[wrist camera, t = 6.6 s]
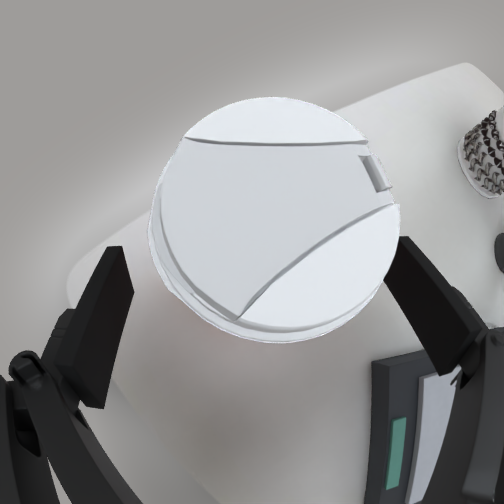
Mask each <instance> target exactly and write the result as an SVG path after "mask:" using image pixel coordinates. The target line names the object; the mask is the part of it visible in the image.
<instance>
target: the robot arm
mask: <svg viewBox="0 0 504 504" xmlns="http://www.w3.org/2000/svg"><path fill="white" fill-rule="evenodd" d="M383 281H384V282H385V284H386V285H387V287H388V288H389V290H390V292H391V293H392V295H393V296H394V298H395V300H396V301H397V303H398V304H399V306H400V308H401V309H402V311H403V313H404V314H405V316H406V318H407V319H408V321H409V323H410V324H411V326H412V328H413V330H414V331H415V333H416V335H417V337H418V338H419V340H420V342H421V344H422V345H423V347H424V349H425V351H426V353H427V354H428V356H429V358H430V360H431V362H432V364H433V366H434V367H435V369H436V371H437V373H438V375H439V377H440V376H443V375H446V374H449V373H452V372H453V370H454V369H455V368H456V366H457V365H458V364H459V365H460V367H461V370H460V371H459V372H458V374H457V375H456V376H455V377H454V379H453V380H452V381H451V383H450V385H453V383H454V382H455V381H456V380H457V383H456V385H455V387H456V388H455V394H454V399H453V403H452V408H451V412H450V417H449V421H448V425H447V428H446V432H445V436H444V439H443V443H442V446H441V449H440V453H439V456H438V459H437V462H436V465H435V468H434V471H433V473H432V476H431V479H430V481H429V484H428V487H427V489H426V492H425V494H424V497H423V499H422V501H421V504H504V334H503V333H501V332H500V331H498V330H495V329H491V330H489V329H488V327H487V326H486V325H485V323H484V322H483V321H482V319H481V318H480V316H479V315H478V314H477V312H476V311H475V310H474V308H472V306H471V304H470V303H469V302H467V299H466V298H465V297H464V295H463V294H462V293H461V292H460V291H458V290H457V289H456V288H455V287H451V285H450V284H449V283H448V282H447V280H446V279H445V278H444V277H443V276H442V274H441V273H440V272H439V271H438V270H437V268H436V267H435V266H434V265H433V264H432V263H431V261H430V260H429V259H428V258H427V257H426V256H425V254H424V253H423V252H422V251H421V250H420V249H419V248H418V247H417V245H416V244H415V243H414V242H413V241H412V240H411V239H410V238H409V237H408V236H399V240H398V244H397V248H396V253H395V256H394V258H393V260H392V263H391V265H390V268H389V270H388V272H387V274H386V275H385V277H384V279H383ZM133 295H134V289H133V286H132V282H131V279H130V275H129V271H128V268H127V264H126V260H125V256H124V252H123V248H122V246H109V247H107V248H106V250H105V251H104V253H103V255H102V257H101V259H100V261H99V263H98V264H97V266H96V268H95V270H94V272H93V274H92V276H91V278H90V280H89V282H88V284H87V286H86V288H85V290H84V292H83V294H82V296H81V298H80V300H79V303H78V305H77V307H76V309H66V311H65V312H64V313H63V314H62V315H61V316H60V317H59V318H58V321H57V323H56V325H55V329H53V331H52V334H51V337H50V338H49V340H48V343H47V345H46V348H45V350H44V352H43V354H42V357H41V359H40V358H39V357H38V356H37V354H36V353H35V352H33V351H23V352H20V353H18V354H17V355H16V356H15V357H14V358H13V359H12V361H11V362H10V365H9V375H10V376H11V377H12V378H13V380H14V381H6V380H5V379H4V378H3V377H2V375H0V504H60V502H59V499H58V496H57V493H56V489H55V486H54V482H53V479H52V475H51V471H50V467H49V463H48V460H49V462H50V463H51V466H52V468H53V470H54V472H55V473H56V476H57V478H58V479H59V481H60V483H61V485H62V487H63V489H64V491H65V492H66V494H67V496H68V497H69V499H70V501H71V503H72V504H143V503H142V502H141V501H140V500H139V498H138V497H137V496H136V495H135V493H134V492H133V491H132V489H131V488H130V487H129V486H128V484H127V483H126V482H125V480H124V479H123V477H122V476H121V475H120V473H119V472H118V470H117V469H116V468H115V466H114V465H113V463H112V462H111V460H110V459H109V457H108V456H107V454H106V453H105V451H104V450H103V448H102V446H101V445H100V443H99V442H98V440H97V439H96V437H95V435H94V433H93V432H92V430H91V428H90V427H89V425H88V423H87V421H86V419H85V418H84V416H83V414H82V412H81V411H80V410H79V408H78V405H79V401H80V400H81V401H82V402H83V403H84V404H85V406H86V407H92V408H99V409H104V406H105V401H106V397H107V392H108V388H109V383H110V379H111V375H112V371H113V366H114V362H115V358H116V355H117V351H118V347H119V343H120V339H121V336H122V332H123V329H124V325H125V322H126V318H127V315H128V311H129V308H130V305H131V302H132V298H133ZM47 457H48V459H47ZM494 491H495V494H494ZM493 495H494V502H493Z"/></svg>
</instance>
